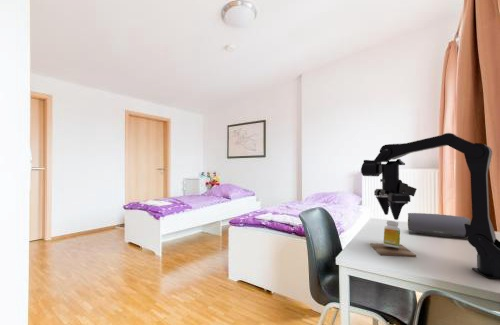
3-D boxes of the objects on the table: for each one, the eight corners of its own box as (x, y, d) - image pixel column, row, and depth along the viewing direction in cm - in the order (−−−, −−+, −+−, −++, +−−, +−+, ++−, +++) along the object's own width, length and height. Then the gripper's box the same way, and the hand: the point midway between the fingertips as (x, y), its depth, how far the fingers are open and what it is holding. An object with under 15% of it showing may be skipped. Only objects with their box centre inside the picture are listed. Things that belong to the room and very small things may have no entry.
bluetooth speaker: (466, 236, 112) (466, 214, 112) (472, 242, 104) (471, 218, 104) (407, 230, 123) (407, 210, 123) (408, 234, 115) (408, 213, 115)
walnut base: (416, 259, 87) (416, 255, 87) (380, 257, 90) (380, 253, 90) (401, 248, 99) (401, 244, 99) (370, 246, 101) (370, 243, 101)
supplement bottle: (398, 248, 91) (400, 221, 93) (382, 245, 94) (384, 219, 96) (399, 248, 95) (400, 223, 97) (384, 245, 98) (385, 220, 100)
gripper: (426, 178, 84) (427, 223, 84) (401, 175, 103) (402, 212, 102) (391, 178, 86) (392, 222, 86) (373, 175, 104) (374, 212, 104)
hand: (390, 217), depth 95 cm, fingers open, 9 cm apart
